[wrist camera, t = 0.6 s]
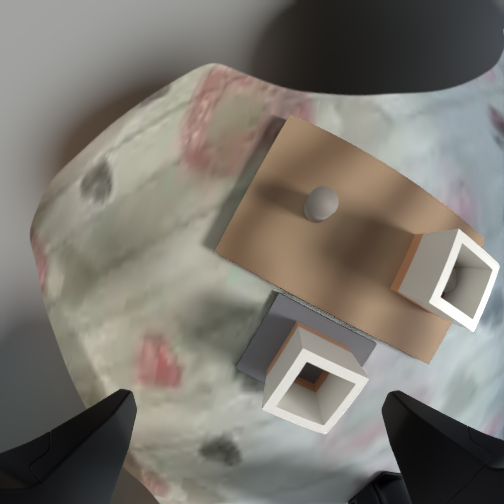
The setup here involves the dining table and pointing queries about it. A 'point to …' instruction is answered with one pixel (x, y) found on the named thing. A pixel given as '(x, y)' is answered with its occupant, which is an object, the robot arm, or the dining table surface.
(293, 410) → the sleeve loose
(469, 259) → the sleeve seated
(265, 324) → the mat
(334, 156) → the pin board
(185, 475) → the dining table surface
